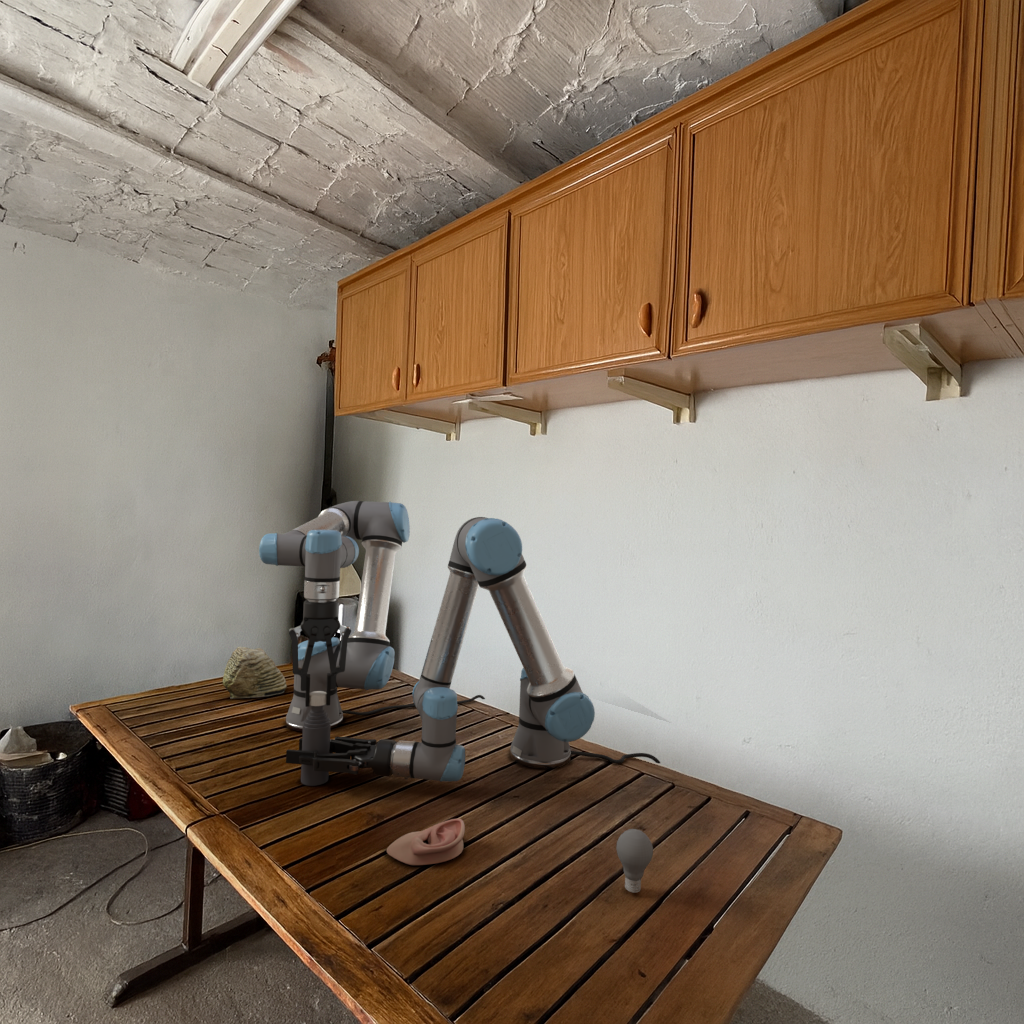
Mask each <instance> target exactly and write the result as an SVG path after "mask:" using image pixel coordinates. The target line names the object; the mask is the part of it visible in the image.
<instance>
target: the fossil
mask: <svg viewBox="0 0 1024 1024" xmlns="http://www.w3.org/2000/svg"><path fill="white" fill-rule="evenodd" d="M222 676H223V677H222V685H223V687H224V688H225V690H226V691H228V693H229V698H230V699H250V698H264V697H271V696H275V695H281V694H284V693H285V691H286V689H287V687H288V686H287V680H286V678H285V676H284V674H283V673H282V672H281V669H279V668H278V667H277V665H276V663H275V662H274V660H273V659H272V658H271V657H270V656H269V655H268V654H267V653H266V652H265V650H264V649H263V648H260V647H258V648H251V647H247V646H246V647H245V646H238V647H237V648H236V649H235V650H233V651H232V653H231V656H230V657H229V659H228V660H227V663H226V666H225V668H224V671H223V675H222Z"/></svg>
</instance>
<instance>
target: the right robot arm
mask: <svg viewBox="0 0 1024 1024" xmlns="http://www.w3.org/2000/svg"><path fill="white" fill-rule="evenodd" d="M527 568H528V564H527V562H526V560H525V558H524V556H523V542H522V539H521V536H520V534H519V533H518V531H517V530H516V529H515V528H514V527H513V526H512V525H511V524H509V523H508V522H507V521H505V520H502V519H500V518H494V517H485V516H476V517H472V518H470V519H468V520H466V521H465V522H463V523H462V525H461V526H460V527H459V528H458V530H457V531H456V534H455V537H454V541H453V544H452V548H451V553H450V556H449V560H448V564H447V569H448V570H449V576H448V579H447V583H446V586H445V589H444V593H443V596H442V600H441V604H440V607H439V610H438V613H437V617H436V621H435V624H434V628H433V632H432V635H431V638H430V642H429V645H428V649H427V652H426V656H425V659H424V663H423V667H422V669H421V673H420V677H419V680H418V681H417V682H416V684H414V686H413V688H412V702H413V704H415V706H416V707H415V708H416V710H417V712H418V715H419V717H420V719H421V738H420V739H421V741H412V740H398V741H396V740H394V739H384V738H381V739H379V740H378V741H377V739H375V738H371V739H369V738H368V739H365V738H356V737H355V738H354V737H346V736H335V737H334V738H330V753H328V754H317V751H315V752H314V751H302V737H300V738H299V740H298V749H288V748H287V749H286V752H285V763H286V764H294V765H301V764H304V765H314V768H313V770H314V771H324V772H329V773H344V774H350V775H358V774H359V770H361V769H362V770H363V769H372V771H373V774H374V775H375V776H378V777H391V776H393V777H394V778H404V780H408V779H416V780H417V779H419V780H427V781H438V782H441V783H442V782H450V783H451V782H459V781H460V780H461V779H462V777H463V775H464V771H465V765H466V748H465V746H463V745H461V744H457V740H456V739H457V738H456V737H457V719H458V709H459V704H457V701H458V693H457V692H456V691H455V690H454V689H451V686H452V681H453V678H454V674H455V670H456V668H457V663H458V660H459V657H460V653H461V650H462V647H463V642H464V640H465V636H466V633H467V629H468V626H469V622H470V619H471V615H472V612H473V609H474V604H475V602H476V598H477V595H478V591H479V588H480V589H483V590H486V591H488V592H489V594H490V597H491V599H492V601H493V603H494V605H495V607H496V610H497V612H498V614H499V617H500V619H501V621H502V623H503V626H504V627H505V630H506V632H507V634H508V636H509V639H510V641H511V643H512V645H513V648H514V649H515V651H516V655H517V657H518V658H519V661H520V663H521V666H522V667H523V668H522V669H521V672H520V678H519V681H520V683H519V684H520V686H519V708H518V709H519V710H518V711H519V713H518V726H517V728H516V730H515V733H514V736H513V739H512V741H511V744H510V749H509V750H510V751H509V753H510V754H509V756H510V758H511V759H512V760H513V761H514V762H516V763H517V764H519V765H522V766H524V767H529V768H533V769H556V768H560V767H564V766H566V765H567V764H568V763H569V762H570V761H571V760H572V759H571V758H572V757H571V755H573V756H581V757H587V758H596V759H602V760H606V761H608V762H610V763H612V764H622V763H625V760H626V759H632V758H647V759H651V760H652V761H653V762H654V763H655V764H661V761H660V760H659V759H658V758H657V757H655V756H654V755H653V754H650V753H646V752H636V753H626V754H623V755H622V756H621V758H620V759H619V758H618V759H616V758H612V757H610V756H608V755H605V754H602V753H601V754H600V753H594V752H587V751H586V752H585V751H577V750H571V746H570V743H572V742H575V741H577V740H580V739H581V738H583V737H584V736H585V735H586V734H587V733H588V732H589V731H590V730H591V728H592V725H593V723H594V721H595V715H596V712H595V707H594V703H593V702H592V700H591V698H590V697H589V696H588V695H587V694H586V693H584V691H583V689H582V687H581V685H580V683H579V681H578V679H577V677H576V673H575V672H574V670H573V669H572V668H570V667H567V666H565V665H564V663H563V661H562V659H561V657H560V654H559V652H558V650H557V648H556V647H557V646H556V645H555V643H554V641H553V639H552V636H551V634H550V632H549V630H548V627H547V625H546V622H545V620H544V617H543V615H542V613H541V611H540V608H539V606H538V604H537V602H536V599H535V598H534V597H535V596H534V595H533V593H532V590H531V588H530V586H529V583H528V581H527V580H526V579H527V578H526V576H525V573H526V570H527Z"/></svg>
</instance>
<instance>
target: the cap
mask: <svg viewBox="0 0 1024 1024" xmlns="http://www.w3.org/2000/svg"><path fill="white" fill-rule="evenodd" d="M326 701H327V693H326V692H324V691H314V692H311V693H310V697H309V705H311V706H322V705H325V704H326Z"/></svg>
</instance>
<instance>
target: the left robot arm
mask: <svg viewBox="0 0 1024 1024" xmlns="http://www.w3.org/2000/svg"><path fill="white" fill-rule="evenodd" d="M410 527H411V526H410V517H409V512H408V509H407V507H406V506H405V504H403V503H401V502H393V501H371V500H370V501H369V500H351V501H346V502H345V501H344V502H342V503H341V502H340V503H338V504H335V505H333V506H329V507H327V508H325V509H323V510H322V511H320V513H319V514H318V516H317V517H315V518H314V519H311V520H310V521H309V520H308V521H307V522H304V523H303V524H301V525H299V526H297V527H295V528H293V529H291V530H289V531H287V532H285V533H278V532H275V533H266V534H264V535H263V536H262V537H261V539H260V542H259V546H258V547H259V549H258V551H259V553H258V554H259V558H260V560H261V562H262V563H263V564H265V565H273V566H276V567H278V566H282V567H283V566H285V567H286V566H287V567H304V583H303V587H304V588H303V597H304V599H305V600H304V601H303V613H302V621H301V622H300V624H299V625H298V626H296V627H290V628H289V629H288V635H289V637H290V639H291V646H292V647H291V653H292V656H291V658H292V659H291V660H292V674H293V695H292V696H293V697H292V699H291V702H290V704H289V708H288V711H287V713H286V715H285V726H286V728H287V729H289V730H291V731H294V732H295V731H296V732H301V733H303V724H304V720H305V719H306V717H307V716H308V713H310V710H311V705H309V697H310V693H311V692H314V691H324V692H326V693H327V701H326V704H325V705H324V709H325V712H326V713H327V715H328V718H329V719H330V723H331V727H330V730H332V729H335V728H337V727H339V726H340V725H342V723H343V722H344V714H346V715H354V716H369V715H372V714H373V715H374V714H376V713H379V712H382V711H387V710H395V709H406V708H416V706H415V704H414V703H409V704H399V705H398V704H397V705H389V706H383V707H380V708H375V709H373V710H369V711H363V712H361V711H354V710H344V709H342V706H341V702H340V699H339V695H338V688H340V689H341V688H342V689H355V690H356V689H357V690H365V691H370V690H382V689H383V688H384V687H385V686H386V685H387V684H388V682H389V680H390V678H391V675H392V673H393V669H394V664H395V649H394V648H393V647H392V646H390V645H391V644H390V642H391V641H390V639H389V638H388V637H387V635H386V632H387V631H386V630H387V624H388V615H389V607H390V600H391V593H392V584H393V577H394V571H395V570H394V569H395V560H396V554H397V553H398V552H400V551H401V550H402V547H403V543H404V544H405V543H407V542H408V541H409V540H410V532H411V531H410V529H411V528H410ZM356 540H357V541H361V546H362V547H363V548H364V549H365V556H364V562H363V568H362V569H363V570H362V577H361V584H360V590H359V597H358V604H357V611H356V618H355V625H354V631H353V632H352V628H351V627H350V626H347V625H346V626H345V625H343V624H341V622H340V620H339V613H340V612H339V611H340V610H339V609H340V601H339V600H338V599H339V597H340V583H341V581H340V579H341V569H345V568H348V567H350V566H351V565H353V564H354V563H355V562H356V561H357V559H358V557H359V554H360V548H359V544H358V543H357V541H356ZM338 631H339V634H340V635H339V636H341V637H340V639H339V638H338V637H334V636H335V635H336V634H337V632H338ZM301 632H303V634H304V635H305V636H306V638H307V640H304V641H302V642H300V643H299V639H298V638H299V637H300V636H301ZM477 699H481V700H486V698H485V697H484V696H483V695H482V694H477V695H475V696H473V697H470V698H469V699H463V700H457V705H461V704H462V705H463V704H468V703H471V702H474V701H475V700H477Z"/></svg>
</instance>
